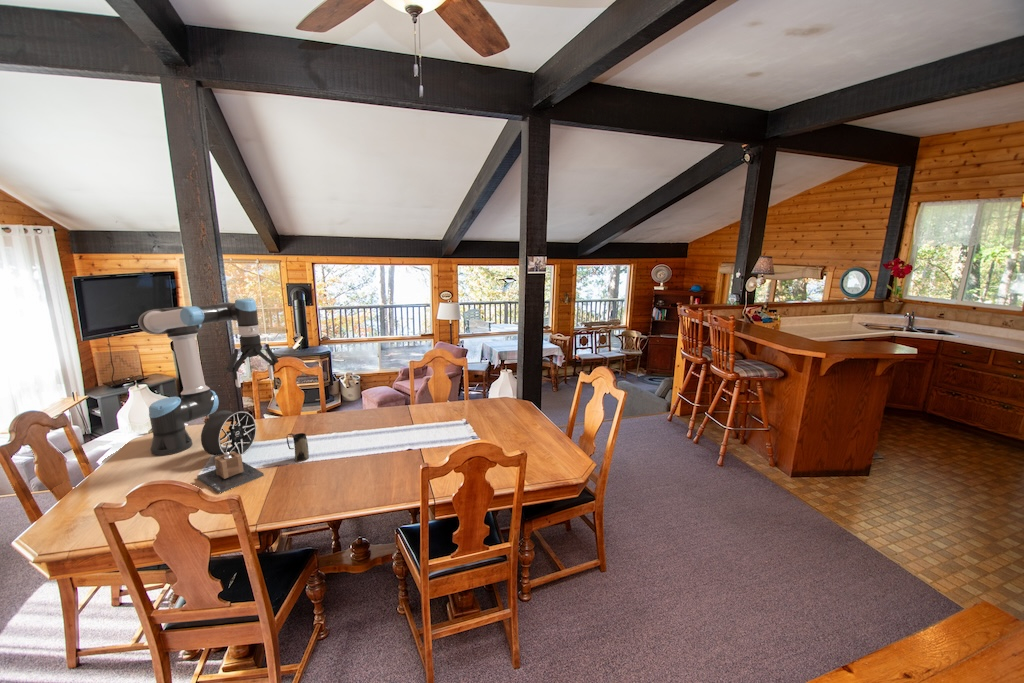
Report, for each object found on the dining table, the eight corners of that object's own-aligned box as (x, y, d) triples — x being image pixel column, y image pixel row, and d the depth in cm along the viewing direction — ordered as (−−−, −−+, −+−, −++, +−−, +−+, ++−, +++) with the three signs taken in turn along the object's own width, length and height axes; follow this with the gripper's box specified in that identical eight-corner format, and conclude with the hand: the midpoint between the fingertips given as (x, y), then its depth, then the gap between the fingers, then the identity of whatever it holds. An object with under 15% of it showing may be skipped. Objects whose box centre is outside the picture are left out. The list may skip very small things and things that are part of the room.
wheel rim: (222, 465, 180) (215, 421, 176) (204, 463, 182) (197, 419, 178) (258, 445, 199) (253, 405, 195) (242, 443, 201) (236, 403, 197)
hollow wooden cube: (216, 473, 169) (214, 457, 168) (235, 466, 175) (233, 451, 173) (224, 478, 165) (221, 462, 164) (243, 471, 171) (241, 455, 169)
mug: (310, 455, 189) (307, 430, 186) (307, 461, 184) (304, 435, 181) (291, 457, 187) (288, 431, 185) (287, 463, 182) (284, 436, 180)
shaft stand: (197, 478, 169) (193, 453, 167) (240, 462, 182) (237, 439, 180) (219, 493, 158) (215, 467, 156) (263, 475, 171) (260, 451, 169)
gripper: (220, 340, 168) (227, 391, 173) (283, 331, 188) (288, 377, 193) (212, 338, 173) (219, 388, 177) (275, 330, 193) (280, 375, 197)
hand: (255, 382), depth 185 cm, fingers open, 13 cm apart
